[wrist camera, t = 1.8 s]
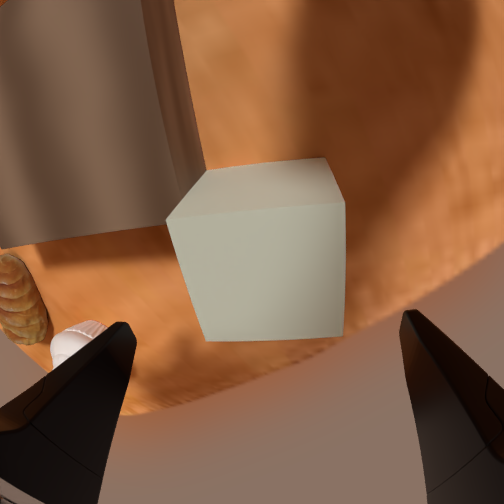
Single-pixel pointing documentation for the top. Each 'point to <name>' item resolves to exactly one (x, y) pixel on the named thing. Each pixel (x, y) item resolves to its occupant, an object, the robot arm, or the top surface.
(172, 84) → the walnut base
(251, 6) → the top surface
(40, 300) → the pastry
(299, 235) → the sage cube
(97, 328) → the muffin
